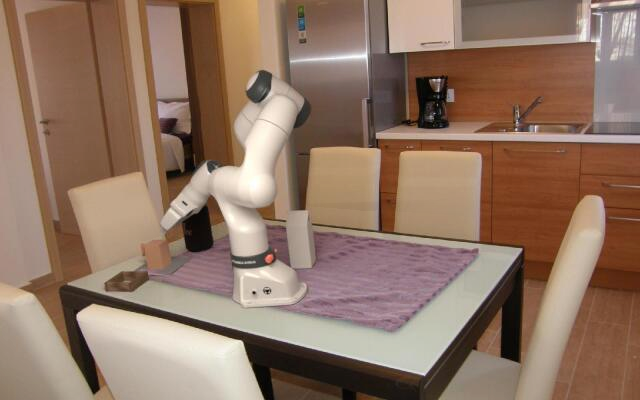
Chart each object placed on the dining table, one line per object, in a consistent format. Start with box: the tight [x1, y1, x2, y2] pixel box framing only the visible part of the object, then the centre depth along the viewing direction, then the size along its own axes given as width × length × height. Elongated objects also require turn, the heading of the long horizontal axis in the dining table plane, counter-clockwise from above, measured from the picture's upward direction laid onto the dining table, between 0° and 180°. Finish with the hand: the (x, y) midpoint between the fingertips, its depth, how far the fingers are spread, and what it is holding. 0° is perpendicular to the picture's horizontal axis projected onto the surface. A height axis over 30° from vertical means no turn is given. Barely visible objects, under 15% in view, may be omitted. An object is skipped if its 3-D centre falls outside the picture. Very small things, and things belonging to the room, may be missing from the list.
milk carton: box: [285, 209, 317, 270], centre depth 192 cm, size 7×7×19 cm
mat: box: [133, 257, 191, 276], centre depth 206 cm, size 16×16×1 cm
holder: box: [103, 270, 150, 293], centre depth 192 cm, size 10×10×3 cm
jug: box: [139, 239, 172, 270], centre depth 205 cm, size 9×6×9 cm, turn 75°
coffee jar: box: [181, 201, 214, 253], centre depth 221 cm, size 11×11×18 cm
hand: (169, 229), depth 200 cm, fingers open, 8 cm apart
